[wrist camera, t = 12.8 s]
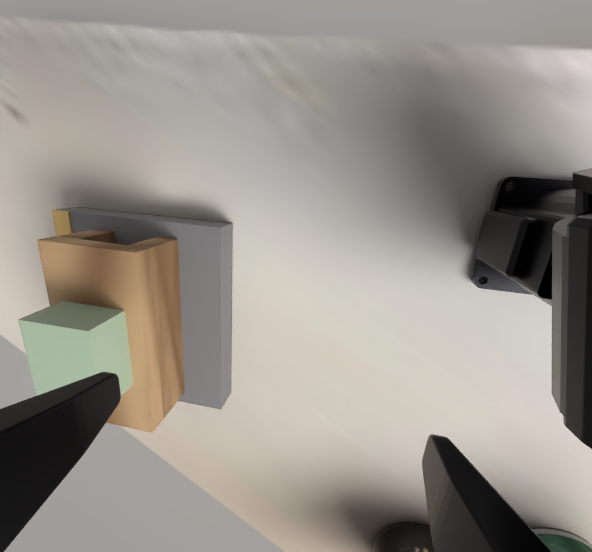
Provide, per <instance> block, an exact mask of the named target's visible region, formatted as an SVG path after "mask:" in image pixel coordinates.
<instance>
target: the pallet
mask: <svg viewBox="0 0 592 552" xmlns="http://www.w3.org/2000/svg"><path fill="white" fill-rule="evenodd" d="M37 241H38V246H39V252H40V257H41V262H42V267H43V272H44V277H45V282H46V287H47V293H48V298H49V303H50V306H52V305H55V304H57V303H59V302H62V301H66V302H73V303H79V304H86V305H92V306H99V307H105V308H112V309H118V310H125V317H126V325H127V333H128V342H129V350H130V359H131V367H132V376H133V384H134V385H132V386H131V387H130V388H129V389H128V390H127V391H126V392H125V393H124V394H123V395H122V396H121V399H120V402H119V404H118V406H117V407H116V409H115V410H114V412H113V413H112V415H111V416H110V417H109V419H108V420H107V422H106V423H111V424H115V425H120V426H124V427H129V428H133V429H138V430H142V431H147V432H151V433H153V432H154V430H155V429H156V428H157V426H158V425H159V424H160V423H161V421H162V420H163V419H164V418H165V416H166V415H167V414H168V413H169V411H170V410H171V409H172V407H173V406H174V405H175V404H176V402H177V401H178V400H179V399H180V397H181V396H182V395H183V394H184V392H185V386H184V364H183V342H182V320H181V298H180V276H179V254H178V239H174V238H166V237H155V238H151V239H148V240H144V241H141V242H137V243H134V244H130V245H123V244H115V235H114V231H107V230H99V229H93V230H88V231H83V232H77V233H72V234H67V235H61V236H56V237H51V238H45V239H40V240H37Z"/></svg>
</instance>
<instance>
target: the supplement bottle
mask: <svg viewBox="0 0 592 552" xmlns="http://www.w3.org/2000/svg"><path fill="white" fill-rule="evenodd" d="M373 552H435V551H434V546H433V541H432V536H431V530H430V528H429V527H426V526H423V525H420V524H414V523H400V524H395V525H391V526H389V527H387V528H385V529H384V530H383V531H381V532H380V533H379V535H378V536H377V538H376V540H375V542H374V546H373Z"/></svg>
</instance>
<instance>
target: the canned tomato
mask: <svg viewBox="0 0 592 552" xmlns="http://www.w3.org/2000/svg"><path fill="white" fill-rule="evenodd" d="M532 530H533V531H534V533H535V534H536V535H537V536H538V537H539V538H540V539H541V540H542V541H543V542H544V543H545V545H546V546H547V547H548V548H549V549H550V550H551V551H552V552H592V545H590V544H589V543H588V542H587V541H585V540H583V539H582V538H580V537H578V536H576V535H573V534H571V533H568V532H564V531H560V530H555V529H532Z"/></svg>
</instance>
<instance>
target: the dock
mask: <svg viewBox="0 0 592 552" xmlns="http://www.w3.org/2000/svg"><path fill="white" fill-rule="evenodd" d="M52 212H53V218H54V224H55V229H56V235H57V236H61V235H67V234H72V233H77V232H83V231H88V230H93V229H99V230H107V231H114V235H115V244H123V245H130V244H134V243H137V242H141V241H144V240H148V239H151V238H155V237H166V238H174V239H178V254H179V276H180V298H181V320H182V342H183V364H184V386H185V392H184V394H183V395H182V396H181V397H180V399H179V400H178V401H182V402H187V403H192V404H197V405H202V406H207V407H212V408H217V409H222V407H223V405H224V404H225V402H226V400H227V398H228V397H229V395H230V393H231V343H232V232H233V224H232V223H223V222H213V221H204V220H194V219H185V218H175V217H166V216H156V215H147V214H137V213H128V212H118V211H109V210H100V209H90V208H81V207H76V208H66V209H56V210H52Z"/></svg>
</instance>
